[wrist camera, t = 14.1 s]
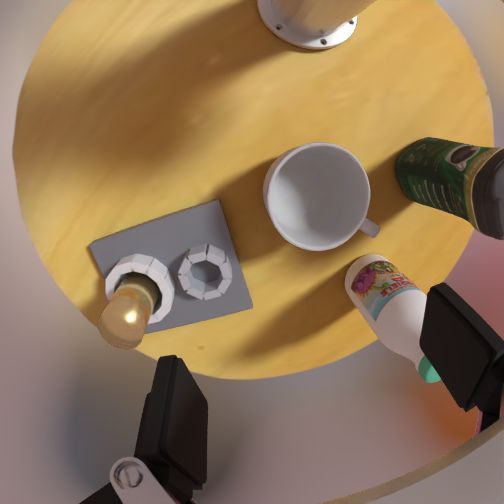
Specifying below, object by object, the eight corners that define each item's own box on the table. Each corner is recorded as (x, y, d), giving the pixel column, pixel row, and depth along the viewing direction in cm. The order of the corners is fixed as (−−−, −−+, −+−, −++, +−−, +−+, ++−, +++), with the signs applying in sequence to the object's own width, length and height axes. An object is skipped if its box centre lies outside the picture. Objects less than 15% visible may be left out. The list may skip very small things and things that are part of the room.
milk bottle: (390, 288, 41) (464, 373, 22) (346, 306, 41) (408, 405, 23) (386, 245, 38) (478, 323, 19) (339, 262, 38) (415, 359, 20)
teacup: (239, 192, 33) (243, 207, 26) (297, 123, 31) (318, 119, 23) (321, 257, 38) (343, 286, 30) (373, 197, 35) (406, 212, 28)
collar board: (93, 241, 34) (80, 252, 30) (219, 198, 33) (218, 205, 30) (137, 330, 40) (131, 346, 36) (252, 302, 39) (254, 318, 35)
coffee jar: (407, 208, 36) (502, 261, 19) (385, 160, 33) (491, 189, 16) (448, 175, 34) (543, 209, 17) (430, 129, 32) (533, 142, 14)
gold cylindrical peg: (118, 273, 34) (89, 315, 25) (151, 263, 34) (128, 305, 25) (134, 305, 36) (112, 352, 27) (166, 296, 36) (150, 345, 27)
